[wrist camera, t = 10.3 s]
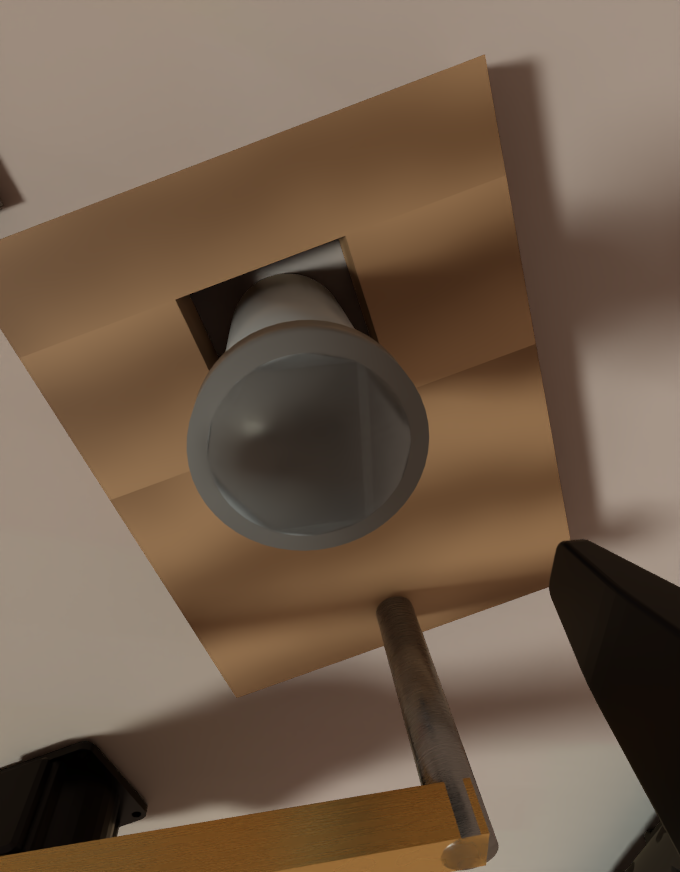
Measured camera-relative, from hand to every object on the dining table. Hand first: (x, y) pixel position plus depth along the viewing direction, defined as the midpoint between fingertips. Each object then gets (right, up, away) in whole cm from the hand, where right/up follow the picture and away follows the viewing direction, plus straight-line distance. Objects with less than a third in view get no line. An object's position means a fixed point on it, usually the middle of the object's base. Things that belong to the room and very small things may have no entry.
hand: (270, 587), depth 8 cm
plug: (-1, +6, +12) cm, 14 cm away
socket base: (0, +3, +14) cm, 14 cm away
